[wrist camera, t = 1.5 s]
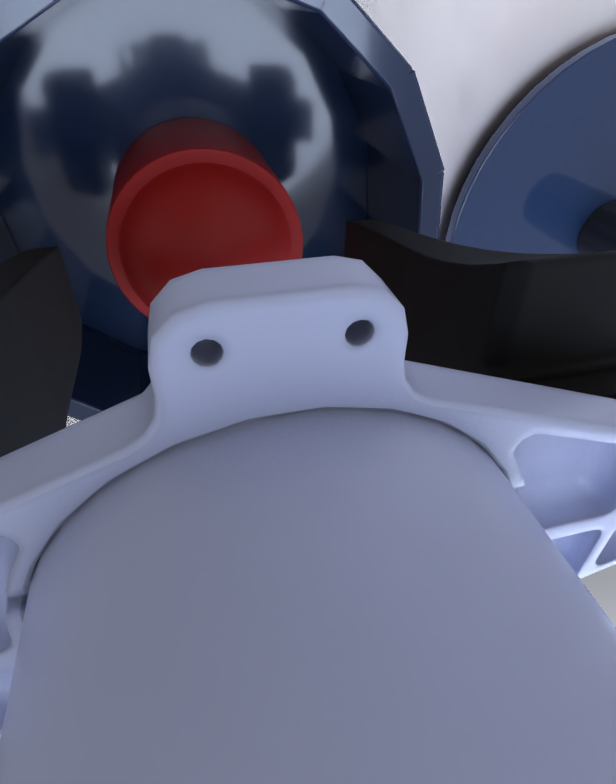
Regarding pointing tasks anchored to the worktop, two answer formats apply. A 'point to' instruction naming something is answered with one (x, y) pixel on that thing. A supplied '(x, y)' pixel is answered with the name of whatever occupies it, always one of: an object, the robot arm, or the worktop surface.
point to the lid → (549, 167)
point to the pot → (208, 101)
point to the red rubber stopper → (194, 208)
